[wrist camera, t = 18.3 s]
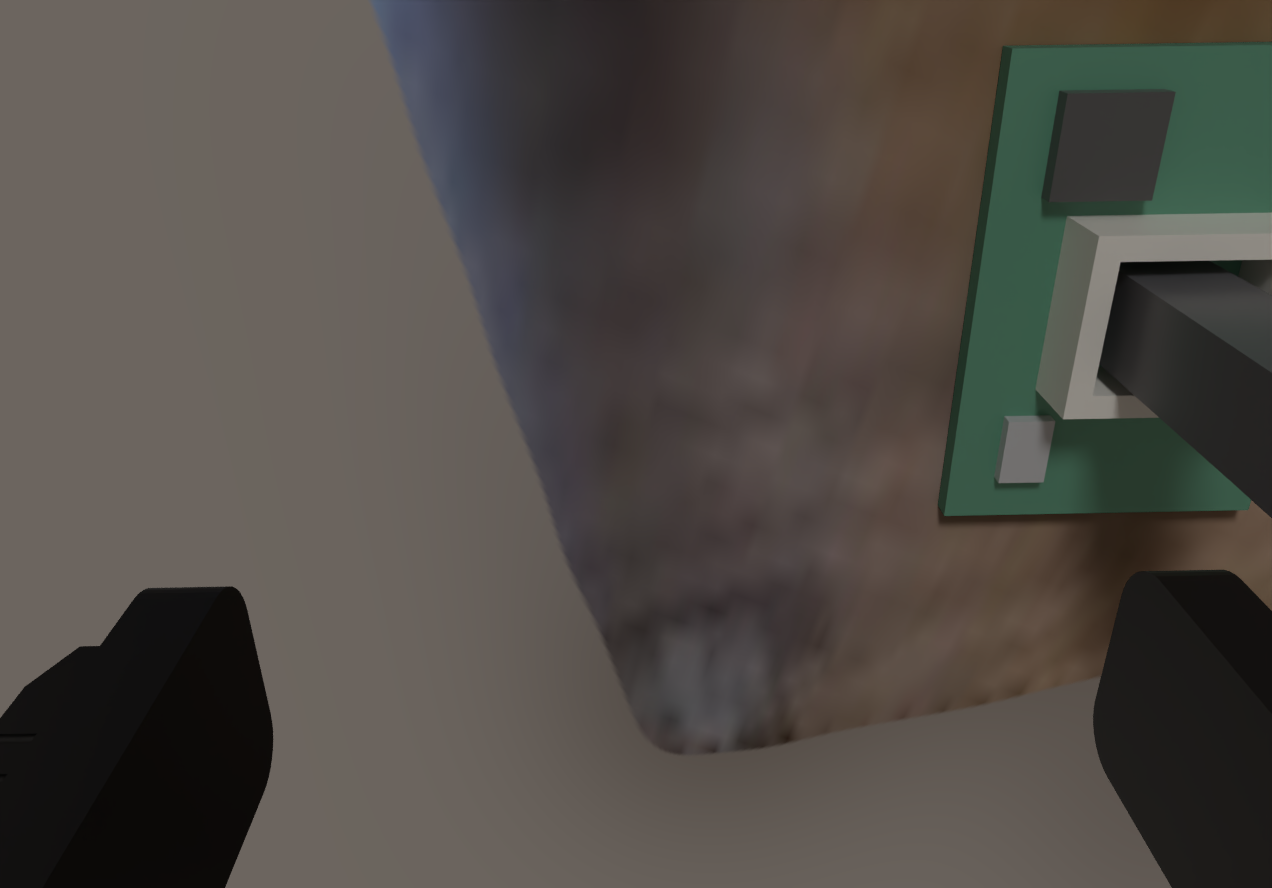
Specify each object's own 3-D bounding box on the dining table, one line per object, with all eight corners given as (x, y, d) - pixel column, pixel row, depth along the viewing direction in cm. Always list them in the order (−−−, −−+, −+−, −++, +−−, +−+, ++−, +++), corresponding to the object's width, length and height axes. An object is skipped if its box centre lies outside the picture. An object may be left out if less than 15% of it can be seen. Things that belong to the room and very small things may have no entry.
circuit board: (1002, 45, 38) (1043, 57, 35) (1371, 40, 38) (1449, 51, 35) (937, 504, 47) (964, 551, 44) (1236, 499, 47) (1286, 545, 44)
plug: (1101, 259, 41) (1388, 451, 26) (1220, 255, 41) (1576, 445, 26) (1084, 351, 43) (1343, 581, 28) (1198, 347, 43) (1518, 576, 28)
